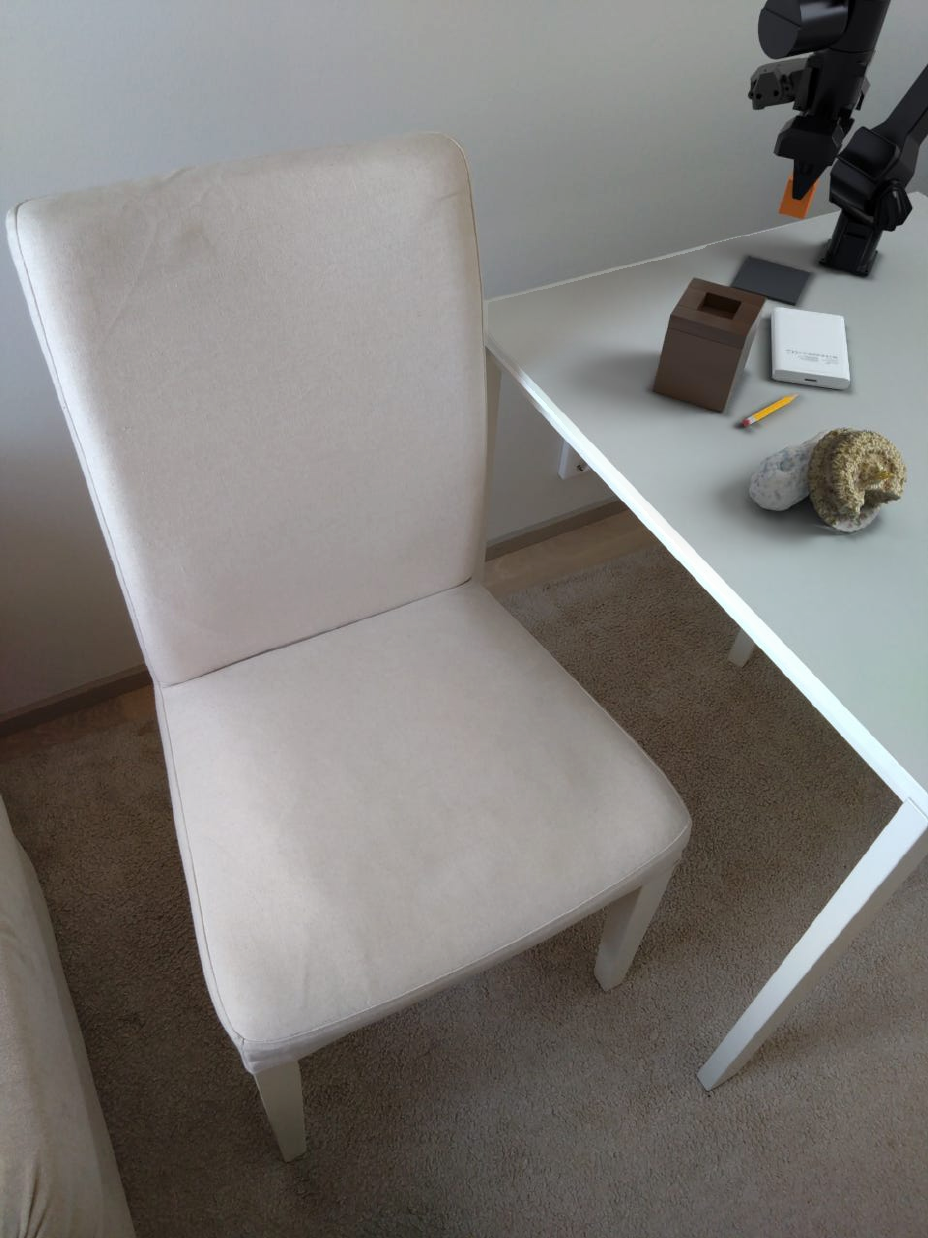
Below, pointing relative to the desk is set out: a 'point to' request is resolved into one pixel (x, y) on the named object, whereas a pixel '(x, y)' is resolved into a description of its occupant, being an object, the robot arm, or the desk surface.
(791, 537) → the desk surface
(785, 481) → the decorative stone
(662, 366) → the holder
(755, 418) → the pencil
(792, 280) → the coaster
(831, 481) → the coral piece
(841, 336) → the hard drive
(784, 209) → the block
